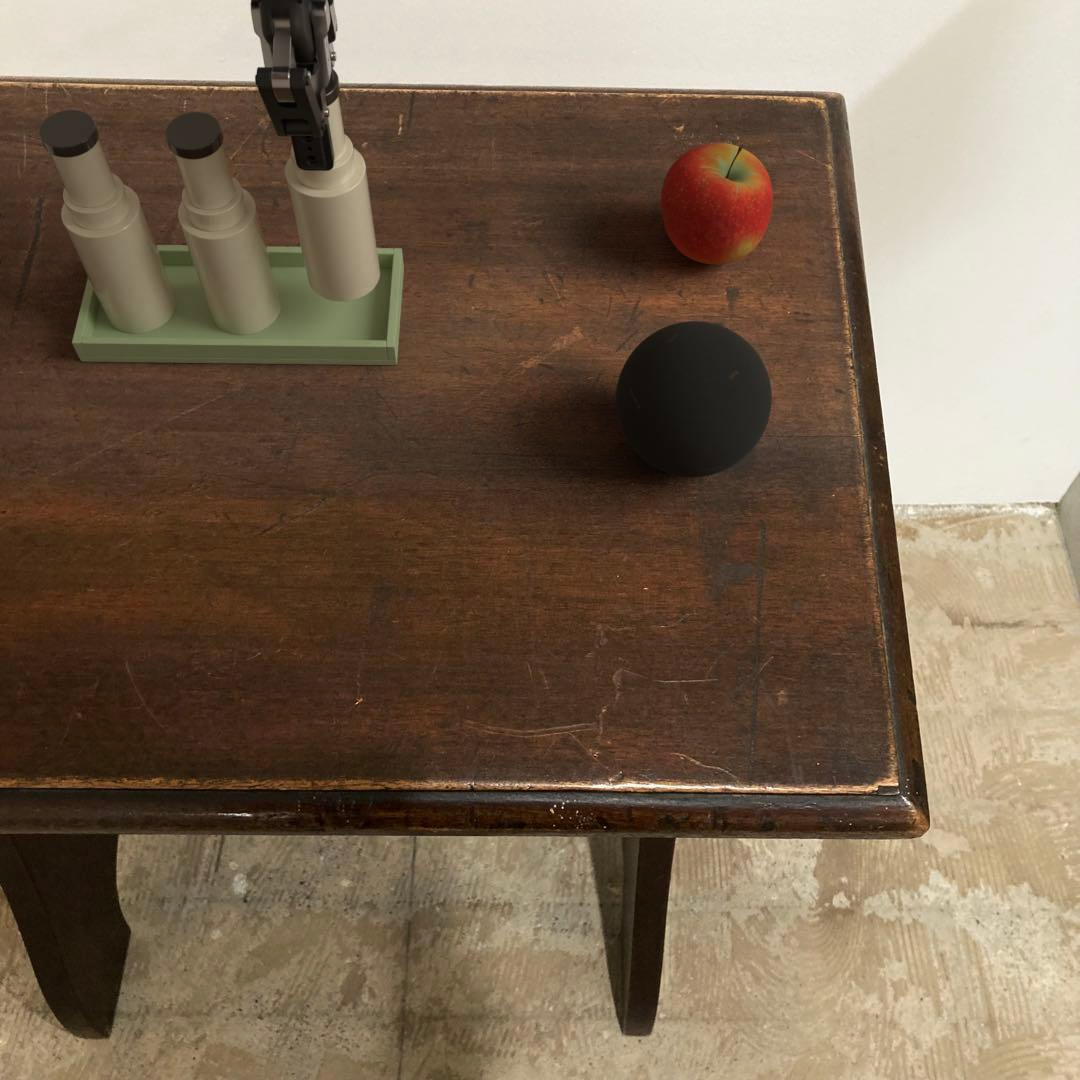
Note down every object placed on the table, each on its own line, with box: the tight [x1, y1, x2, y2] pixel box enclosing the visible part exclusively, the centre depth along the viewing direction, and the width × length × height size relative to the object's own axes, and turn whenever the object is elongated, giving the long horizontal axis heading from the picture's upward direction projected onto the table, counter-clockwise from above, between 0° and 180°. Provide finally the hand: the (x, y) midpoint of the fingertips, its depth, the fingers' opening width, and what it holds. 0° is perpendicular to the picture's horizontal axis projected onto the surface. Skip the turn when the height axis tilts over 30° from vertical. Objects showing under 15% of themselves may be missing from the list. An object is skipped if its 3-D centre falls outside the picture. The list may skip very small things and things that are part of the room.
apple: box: [660, 142, 774, 266], centre depth 83 cm, size 8×8×10 cm
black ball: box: [615, 320, 773, 478], centre depth 74 cm, size 10×10×10 cm
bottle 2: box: [164, 111, 281, 335], centre depth 76 cm, size 5×5×16 cm
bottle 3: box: [284, 62, 380, 302], centre depth 73 cm, size 5×5×16 cm
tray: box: [71, 244, 405, 366], centre depth 82 cm, size 22×9×2 cm, turn 90°
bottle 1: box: [38, 109, 176, 333], centre depth 76 cm, size 5×5×16 cm
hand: (319, 143), depth 70 cm, fingers closed on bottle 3, 3 cm apart
